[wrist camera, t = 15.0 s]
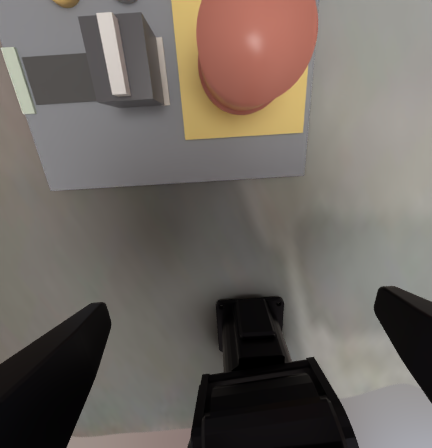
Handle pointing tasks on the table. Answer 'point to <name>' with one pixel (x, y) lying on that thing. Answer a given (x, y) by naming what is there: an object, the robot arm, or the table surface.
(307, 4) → the cap
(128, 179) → the panel
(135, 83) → the breaker
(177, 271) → the table surface
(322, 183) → the table surface
